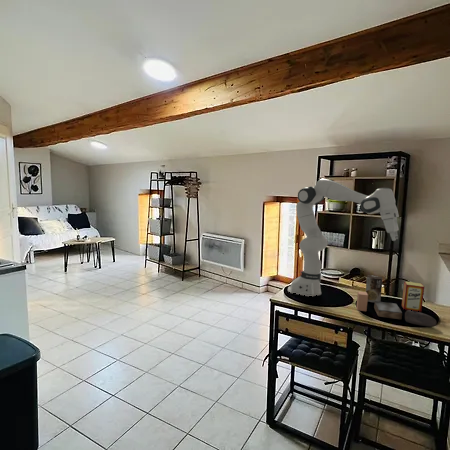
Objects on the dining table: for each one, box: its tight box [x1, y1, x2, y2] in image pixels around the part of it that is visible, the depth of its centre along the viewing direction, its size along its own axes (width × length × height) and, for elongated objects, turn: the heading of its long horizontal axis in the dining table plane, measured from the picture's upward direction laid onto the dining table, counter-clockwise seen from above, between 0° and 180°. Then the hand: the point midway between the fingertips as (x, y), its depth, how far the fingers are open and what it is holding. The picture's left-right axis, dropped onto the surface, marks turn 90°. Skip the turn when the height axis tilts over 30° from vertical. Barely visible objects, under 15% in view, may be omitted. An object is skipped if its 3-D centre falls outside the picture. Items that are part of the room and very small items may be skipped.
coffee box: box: [365, 274, 384, 303], centre depth 209 cm, size 9×6×16 cm
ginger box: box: [401, 281, 425, 313], centre depth 198 cm, size 10×6×16 cm
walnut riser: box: [373, 301, 403, 320], centre depth 190 cm, size 12×14×4 cm
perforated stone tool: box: [404, 310, 437, 328], centre depth 176 cm, size 15×5×7 cm, turn 61°
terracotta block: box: [356, 291, 368, 312], centre depth 194 cm, size 5×5×10 cm
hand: (395, 240), depth 180 cm, fingers open, 8 cm apart
